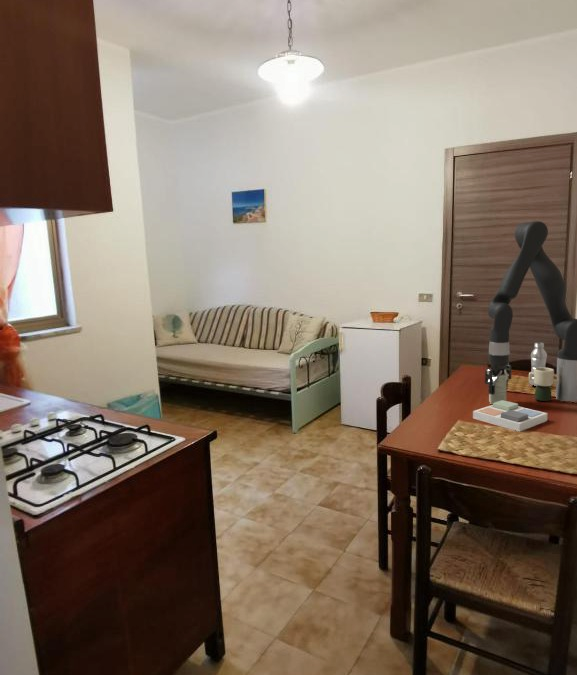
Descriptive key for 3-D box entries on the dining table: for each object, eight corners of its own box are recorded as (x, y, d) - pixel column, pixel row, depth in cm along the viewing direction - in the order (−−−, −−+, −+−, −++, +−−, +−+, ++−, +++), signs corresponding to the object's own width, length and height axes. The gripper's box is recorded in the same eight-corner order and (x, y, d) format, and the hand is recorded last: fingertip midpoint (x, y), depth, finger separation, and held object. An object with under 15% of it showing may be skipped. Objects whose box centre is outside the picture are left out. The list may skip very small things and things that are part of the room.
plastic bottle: (525, 386, 217) (527, 342, 214) (537, 384, 219) (539, 341, 215) (537, 389, 211) (538, 345, 207) (549, 387, 213) (551, 343, 209)
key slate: (524, 413, 178) (524, 408, 177) (541, 417, 172) (541, 412, 172) (514, 416, 174) (514, 412, 174) (532, 421, 169) (532, 416, 169)
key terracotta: (488, 412, 180) (488, 407, 180) (504, 416, 175) (504, 411, 175) (478, 415, 177) (478, 411, 177) (494, 420, 172) (494, 415, 172)
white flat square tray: (500, 409, 187) (500, 402, 187) (547, 420, 172) (547, 413, 171) (472, 418, 178) (473, 411, 177) (519, 431, 163) (519, 423, 162)
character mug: (558, 399, 196) (560, 368, 193) (557, 404, 190) (558, 372, 188) (529, 396, 201) (530, 366, 199) (526, 400, 196) (527, 369, 194)
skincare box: (505, 402, 195) (505, 373, 193) (506, 405, 191) (507, 375, 189) (488, 401, 197) (488, 372, 195) (489, 404, 193) (490, 375, 191)
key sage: (502, 404, 185) (502, 400, 184) (517, 408, 179) (518, 403, 179) (492, 407, 182) (492, 403, 181) (508, 411, 176) (508, 407, 176)
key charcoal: (510, 414, 173) (510, 410, 172) (528, 419, 167) (528, 414, 167) (500, 418, 170) (500, 413, 169) (518, 423, 164) (518, 418, 164)
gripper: (501, 349, 198) (500, 387, 200) (479, 353, 190) (478, 393, 193) (518, 351, 191) (517, 390, 194) (496, 356, 184) (495, 397, 186)
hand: (498, 392), depth 193 cm, fingers open, 8 cm apart
